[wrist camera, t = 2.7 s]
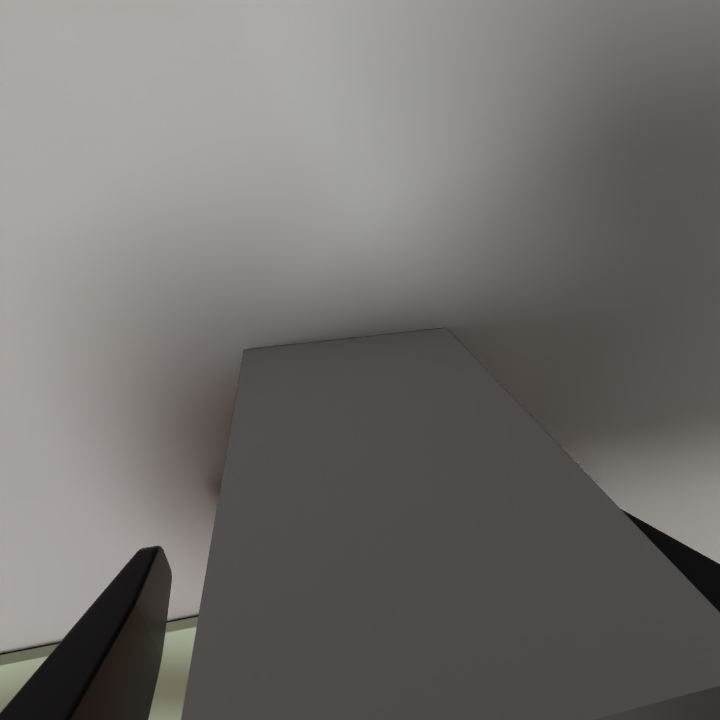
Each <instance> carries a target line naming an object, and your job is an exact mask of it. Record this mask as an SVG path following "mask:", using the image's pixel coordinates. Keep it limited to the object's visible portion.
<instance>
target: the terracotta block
mask: <svg viewBox="0 0 720 720" xmlns="http://www.w3.org/2000/svg"><path fill="white" fill-rule="evenodd" d="M181 720H720V612H719V611H718V610H717V609H716V608H715V607H714V606H713V605H712V604H711V603H710V602H709V601H708V600H707V599H706V598H705V597H704V596H703V595H702V594H701V592H700V591H699V590H698V589H697V588H696V587H695V586H694V585H693V584H692V583H691V582H690V581H689V580H688V579H687V578H686V577H685V576H684V575H683V574H682V573H681V572H680V571H679V570H678V569H677V567H676V566H675V565H674V564H673V563H672V562H671V561H670V560H669V559H668V558H667V557H666V556H665V555H664V554H663V553H662V552H661V551H660V550H659V549H658V548H657V547H656V546H655V545H654V544H653V543H652V541H651V540H650V539H649V538H648V537H647V536H646V535H645V534H644V533H643V532H642V531H641V530H640V529H639V528H638V527H637V526H636V525H635V524H634V523H633V522H632V521H631V520H630V519H629V518H628V516H627V515H626V514H625V513H624V512H623V511H622V510H621V509H620V508H619V507H618V506H617V505H616V504H615V503H614V502H613V501H612V500H611V499H610V498H609V497H608V496H607V495H606V494H605V493H604V492H603V490H602V489H601V488H600V487H599V486H598V485H597V484H596V483H595V482H594V481H593V480H592V479H591V478H590V477H589V476H588V475H587V474H586V473H585V472H584V471H583V470H582V469H581V468H580V467H579V466H578V464H577V463H576V462H575V461H574V460H573V459H572V458H571V457H570V456H569V455H568V454H567V453H566V452H565V451H564V450H563V449H562V448H561V447H560V446H559V445H558V444H557V443H556V442H555V441H554V439H553V438H552V437H551V436H550V435H549V434H548V433H547V432H546V431H545V430H544V429H543V428H542V427H541V426H540V425H539V424H538V423H537V422H536V421H535V420H534V419H533V418H532V417H531V416H530V415H529V413H528V412H527V411H526V410H525V409H524V408H523V407H522V406H521V405H520V404H519V403H518V402H517V401H516V400H515V399H514V398H513V397H512V396H511V395H510V394H509V393H508V392H507V391H506V390H505V388H504V387H503V386H502V385H501V384H500V383H499V382H498V381H497V380H496V379H495V378H494V377H493V376H492V375H491V374H490V373H489V372H488V371H487V370H486V369H485V368H484V367H483V366H482V365H481V364H480V362H479V361H478V360H477V359H476V358H475V357H474V356H473V355H472V354H471V353H470V352H469V351H468V350H467V349H466V348H465V347H464V346H463V345H462V344H461V343H460V342H459V341H458V340H457V339H456V337H455V336H454V335H453V334H452V333H451V332H450V331H449V330H448V329H447V328H439V329H430V330H421V331H412V332H402V333H393V334H384V335H375V336H366V337H357V338H348V339H339V340H329V341H320V342H311V343H302V344H293V345H284V346H275V347H266V348H256V349H247V350H244V352H243V358H242V364H241V370H240V376H239V382H238V388H237V394H236V399H235V405H234V411H233V417H232V423H231V429H230V435H229V440H228V446H227V452H226V458H225V464H224V470H223V476H222V482H221V487H220V493H219V499H218V505H217V511H216V517H215V523H214V529H213V534H212V540H211V546H210V552H209V558H208V564H207V570H206V575H205V581H204V587H203V593H202V599H201V605H200V611H199V617H198V622H197V628H196V634H195V640H194V646H193V652H192V658H191V664H190V669H189V675H188V681H187V687H186V693H185V699H184V705H183V710H182V716H181Z"/></svg>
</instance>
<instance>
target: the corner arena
mask: <svg viewBox="0 0 720 720" xmlns="http://www.w3.org/2000/svg"><path fill="white" fill-rule="evenodd" d="M197 622H198V617H193V618H188V619H183V620H178V621H173V622H168V623H166V631H165V639H164V647H163V654H162V660H161V665H160V670H159V675H158V679H157V684H156V688H155V692H154V697H153V701H152V706H151V710H150V714H149V719H148V720H181V716H182V710H183V705H184V699H185V693H186V687H187V681H188V675H189V669H190V664H191V658H192V652H193V646H194V640H195V634H196V628H197ZM57 645H58V644H55V645H50V646H44V647H39V648H34V649H29V650H24V651H19V652H14V653H9V654H3V655H0V712H1V711H2V710H3V709H4V708H5V707H6V705H7V704H8V703H9V702H10V701H11V700H12V698H13V697H14V696H15V695H16V694H17V692H18V691H19V690H20V689H21V688H22V687H23V685H24V684H25V683H26V682H27V681H28V680H29V678H30V677H31V676H32V675H33V674H34V672H35V671H36V670H37V669H38V668H39V667H40V665H41V664H42V663H43V662H44V661H45V660H46V658H47V657H48V656H49V655H50V654H51V652H52V651H53V650H54V649H55V648H56V647H57Z"/></svg>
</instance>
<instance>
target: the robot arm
mask: <svg viewBox="0 0 720 720" xmlns="http://www.w3.org/2000/svg"><path fill="white" fill-rule="evenodd" d="M621 510H622V509H621ZM622 511H623V510H622ZM623 512H624V513H625V514H626V515H627V516H628V518H629V519H630V520H631V521H632V522H633V523H634V524H635V525H636V526H637V527H638V528H639V529H640V530H641V531H642V532H643V533H644V534H645V535H646V536H647V537H648V538H649V539H650V540H651V541H652V543H653V544H654V545H655V546H656V547H657V548H658V549H659V550H660V551H661V552H662V553H663V554H664V555H665V556H666V557H667V558H668V559H669V560H670V561H671V562H672V563H673V564H674V565H675V566H676V567H677V569H678V570H679V571H680V572H681V573H682V574H683V575H684V576H685V577H686V578H687V579H688V580H689V581H690V582H691V583H692V584H693V585H694V586H695V587H696V588H697V589H698V590H699V591H700V592H701V594H702V595H703V596H704V597H705V598H706V599H707V600H708V601H709V602H710V603H711V604H712V605H713V606H714V607H715V608H716V609H717V610H718V611H719V612H720V564H718V563H717V562H715V561H713V560H711V559H709V558H708V557H706V556H704V555H702V554H700V553H699V552H697V551H695V550H693V549H692V548H690V547H688V546H686V545H684V544H683V543H681V542H679V541H677V540H675V539H674V538H672V537H670V536H668V535H666V534H665V533H663V532H661V531H659V530H657V529H656V528H654V527H652V526H650V525H648V524H647V523H645V522H643V521H641V520H640V519H638V518H636V517H634V516H632V515H631V514H629V513H627V512H625V511H623ZM171 581H172V573H171V569H170V566H169V563H168V561H167V558H166V556H165V553H164V550H163V549H162V547H161V546H153V547H147V548H142V549H140V550H139V551H138V552H137V553H136V554H135V555H134V556H133V557H132V558H131V560H130V561H129V562H128V563H127V564H126V566H125V567H124V568H123V569H122V570H121V571H120V573H119V574H118V575H117V576H116V577H115V578H114V580H113V581H112V582H111V583H110V584H109V586H108V587H107V588H106V589H105V590H104V591H103V593H102V594H101V595H100V596H99V597H98V598H97V600H96V601H95V602H94V603H93V604H92V605H91V607H90V608H89V609H88V610H87V611H86V613H85V614H84V615H83V616H82V617H81V618H80V620H79V621H78V622H77V623H76V624H75V625H74V627H73V628H72V629H71V630H70V631H69V633H68V634H67V635H66V636H65V637H64V638H63V640H62V641H61V642H60V643H59V644H58V645H57V647H56V648H55V649H54V650H53V651H52V652H51V654H50V655H49V656H48V657H47V658H46V660H45V661H44V662H43V663H42V664H41V665H40V667H39V668H38V669H37V670H36V671H35V672H34V674H33V675H32V676H31V677H30V678H29V680H28V681H27V682H26V683H25V684H24V685H23V687H22V688H21V689H20V690H19V691H18V692H17V694H16V695H15V696H14V697H13V698H12V700H11V701H10V702H9V703H8V704H7V705H6V707H5V708H4V709H3V710H2V711H1V712H0V720H148V719H149V714H150V710H151V706H152V701H153V697H154V692H155V688H156V684H157V679H158V675H159V670H160V665H161V660H162V654H163V647H164V639H165V631H166V623H167V615H168V606H169V598H170V590H171Z"/></svg>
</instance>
